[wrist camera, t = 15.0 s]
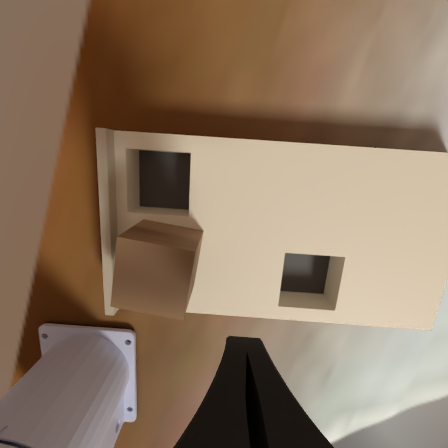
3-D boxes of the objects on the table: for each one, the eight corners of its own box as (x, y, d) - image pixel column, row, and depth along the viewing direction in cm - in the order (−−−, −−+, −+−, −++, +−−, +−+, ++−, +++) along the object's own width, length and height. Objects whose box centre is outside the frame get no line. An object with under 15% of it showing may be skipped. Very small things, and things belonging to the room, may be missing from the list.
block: (193, 285, 18) (183, 320, 14) (137, 274, 18) (110, 306, 14) (203, 230, 17) (195, 251, 13) (143, 219, 17) (116, 236, 13)
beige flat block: (407, 310, 20) (443, 340, 17) (125, 289, 21) (105, 314, 17) (449, 156, 18) (502, 154, 14) (121, 134, 18) (95, 127, 14)
